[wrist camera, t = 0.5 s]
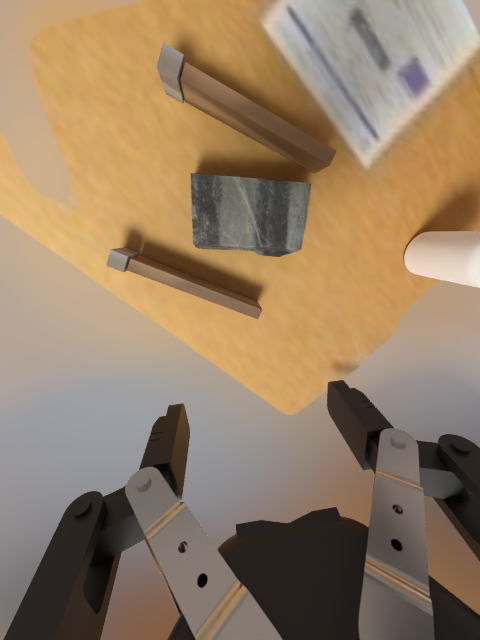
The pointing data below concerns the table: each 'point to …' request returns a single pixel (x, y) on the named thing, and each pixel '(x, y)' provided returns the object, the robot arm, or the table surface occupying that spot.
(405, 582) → the robot arm
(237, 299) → the pair of wooden rails
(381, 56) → the table surface
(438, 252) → the can
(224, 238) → the stone block
